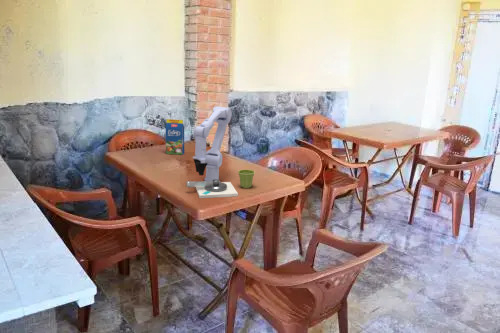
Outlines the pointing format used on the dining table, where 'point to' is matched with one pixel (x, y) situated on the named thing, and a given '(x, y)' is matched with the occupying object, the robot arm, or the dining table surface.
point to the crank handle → (209, 185)
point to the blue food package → (174, 137)
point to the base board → (209, 194)
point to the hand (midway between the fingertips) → (199, 173)
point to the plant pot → (246, 178)
